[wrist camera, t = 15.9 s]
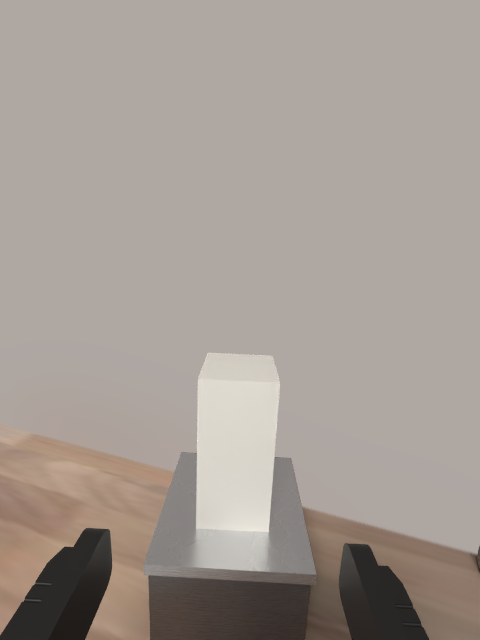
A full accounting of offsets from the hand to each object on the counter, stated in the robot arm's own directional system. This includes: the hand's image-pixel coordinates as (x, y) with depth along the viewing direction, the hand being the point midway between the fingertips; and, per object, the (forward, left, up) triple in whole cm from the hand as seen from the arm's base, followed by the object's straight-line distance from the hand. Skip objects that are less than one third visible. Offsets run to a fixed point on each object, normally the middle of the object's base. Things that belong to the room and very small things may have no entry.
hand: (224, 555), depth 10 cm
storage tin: (0, -11, -18) cm, 22 cm away
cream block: (0, -11, -8) cm, 14 cm away
